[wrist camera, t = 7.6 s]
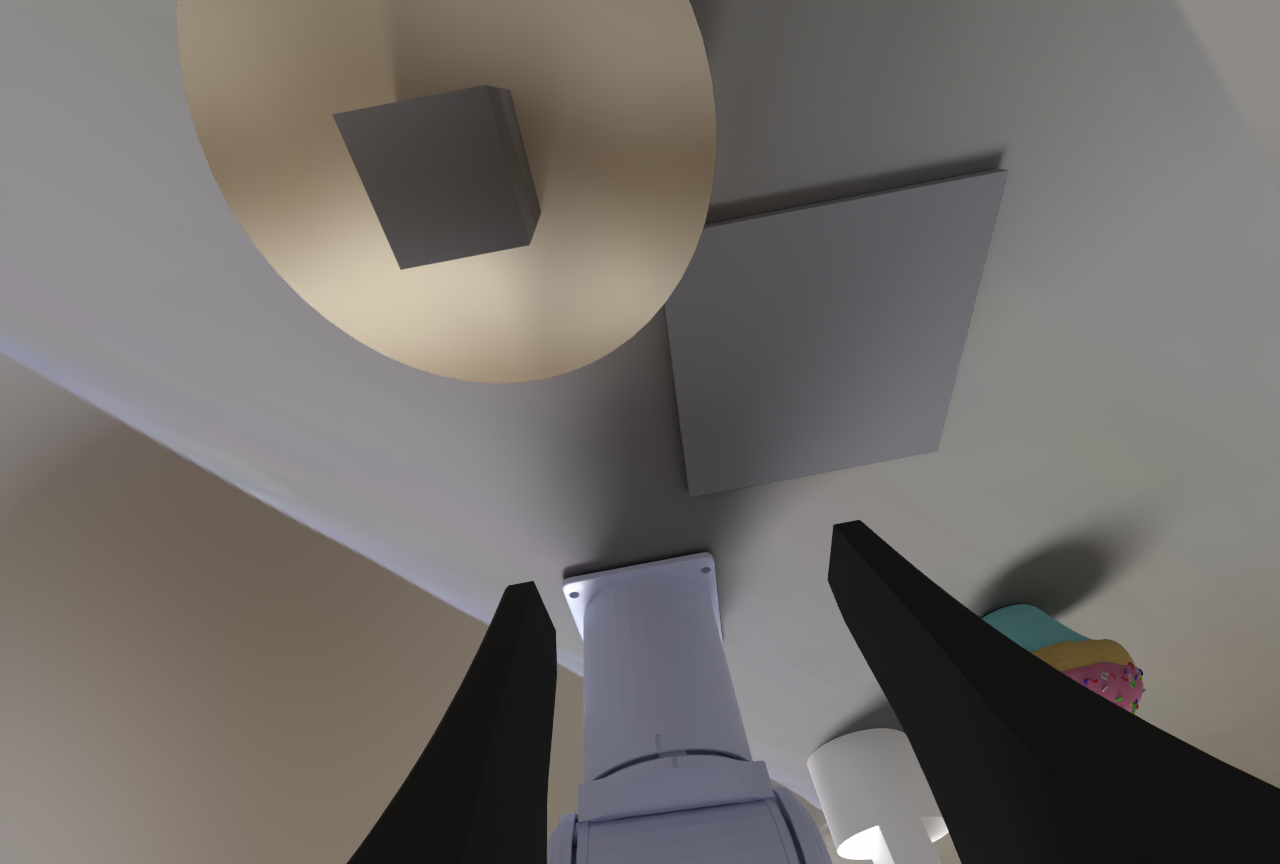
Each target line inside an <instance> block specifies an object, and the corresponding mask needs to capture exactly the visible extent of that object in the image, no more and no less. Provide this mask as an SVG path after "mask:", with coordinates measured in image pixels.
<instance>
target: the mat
mask: <svg viewBox="0 0 1280 864" xmlns="http://www.w3.org/2000/svg"><path fill="white" fill-rule="evenodd" d="M1007 173H1008V170H1002V169H993V170H988V171H982V172H977V173H972V174H967V175H962V176H956V177H951V178H946V179H941V180H935V181H930V182H925V183H920V184H914V185H909V186H904V187H899V188H893V189H888V190H883V191H878V192H872V193H867V194H862V195H857V196H851V197H846V198H841V199H836V200H830V201H825V202H820V203H815V204H810V205H804V206H799V207H794V208H789V209H783V210H778V211H773V212H768V213H762V214H757V215H752V216H747V217H741V218H736V219H731V220H726V221H720V222H715V223H710V224H705V225H704V227H703V230H702V233H701V236H700V238H699V241H698V244H697V247H696V250H695V252H694V254H693V256H692V258H691V260H690V262H689V264H688V266H687V268H686V270H685V272H684V274H683V276H682V278H681V280H680V281H679V283H678V284H677V286H676V287H675V289H674V290H673V292H672V294H671V295H670V297H669V298H668V300H667V301H666V302H665V303H664V312H665V319H666V327H667V335H668V342H669V350H670V357H671V365H672V372H673V380H674V387H675V395H676V402H677V410H678V417H679V425H680V432H681V440H682V448H683V455H684V463H685V470H686V478H687V485H688V492H689V495H690V498H691V497H697V496H702V495H707V494H713V493H718V492H723V491H729V490H734V489H739V488H745V487H750V486H755V485H761V484H766V483H771V482H777V481H782V480H787V479H792V478H798V477H803V476H808V475H814V474H819V473H824V472H830V471H835V470H840V469H846V468H851V467H856V466H862V465H867V464H872V463H878V462H883V461H888V460H893V459H899V458H904V457H909V456H915V455H920V454H925V453H931V452H936V451H937V450H938V446H939V442H940V438H941V434H942V430H943V426H944V422H945V419H946V415H947V411H948V407H949V403H950V399H951V395H952V391H953V387H954V383H955V379H956V375H957V371H958V367H959V363H960V359H961V355H962V351H963V347H964V343H965V339H966V335H967V331H968V327H969V323H970V319H971V315H972V311H973V307H974V303H975V299H976V296H977V292H978V288H979V284H980V280H981V276H982V272H983V268H984V264H985V260H986V256H987V252H988V248H989V244H990V240H991V236H992V232H993V228H994V224H995V220H996V216H997V212H998V208H999V204H1000V200H1001V196H1002V192H1003V188H1004V184H1005V180H1006V177H1007Z"/></svg>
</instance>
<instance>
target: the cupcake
mask: <svg viewBox="0 0 1280 864" xmlns="http://www.w3.org/2000/svg"><path fill="white" fill-rule="evenodd" d="M982 619H983V620H984V621H986V622H987V623H988V624H990V625H991V626H993V627H994V628H995V629H997V630H998V631H1000V632H1001V633H1002V634H1004V635H1005V636H1007V637H1008V638H1010V639H1011V640H1013V641H1014V642H1016V643H1017V644H1019V645H1020V646H1021V647H1023V648H1025V649H1026V650H1028V651H1029V652H1031V653H1032V654H1034V655H1035V656H1037V657H1038V658H1040V659H1041V660H1043V661H1045V662H1046V663H1048V664H1049V665H1051V666H1052V667H1054V668H1056V669H1057V670H1059V671H1060V672H1062V673H1064V674H1065V675H1067V676H1069V677H1070V678H1072V679H1073V680H1075V681H1077V682H1078V683H1080V684H1082V685H1083V686H1085V687H1087V688H1088V689H1090V690H1092V691H1094V692H1095V693H1097V694H1099V695H1101V696H1102V697H1104V698H1106V699H1108V700H1109V701H1111V702H1113V703H1115V704H1117V705H1118V706H1120V707H1122V708H1124V709H1125V710H1127V711H1129V712H1131V713H1132V714H1135V712H1136V709H1138V702H1139V701H1140V699H1141V696H1142V694H1143V693H1144V692H1145V691H1146V689H1143V683H1142V675H1143V672H1142V670H1141V669H1138V668H1137V667H1136V666H1135V665H1134V662H1133V660H1132V658H1131V657H1130V655H1129V653H1128V652H1127V651H1126V650H1125V649H1124V648H1123V647H1122V646H1121V645H1120V644H1119V643H1117V642H1115V641H1112V640H1108V639H1103V640H1092V639H1089V638H1087V637H1085V636H1082V635H1080V634H1078V633H1076V632H1074V631H1073V630H1071V629H1069V628H1067V627H1066V626H1064V625H1062V624H1061V623H1059V622H1058V621H1056V620H1055V619H1053V618H1052V617H1050V616H1049V615H1047V614H1046V613H1044V612H1043V611H1041V610H1040V609H1039V608H1037V607H1035V606H1033V605H1028V604H1017V605H1011V606H1007V607H1004V608H1001V609H998V610H996V611H993V612H991V613H990V614H988V615H986V616H985V617H983V618H982ZM1140 672H1141V673H1140Z"/></svg>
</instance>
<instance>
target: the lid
mask: <svg viewBox="0 0 1280 864" xmlns="http://www.w3.org/2000/svg"><path fill="white" fill-rule="evenodd" d="M177 24H178V51H179V57H180V63H181V69H182V76H183V82H184V88H185V94H186V98H187V101H188V105H189V108H190V112H191V115H192V119H193V122H194V126H195V129H196V133H197V136H198V139H199V141H200V144H201V146H202V149H203V151H204V154H205V156H206V159H207V161H208V163H209V166H210V168H211V171H212V173H213V176H214V178H215V180H216V181H217V183H218V185H219V187H220V189H221V191H222V193H223V195H224V196H225V198H226V200H227V202H228V204H229V206H230V208H231V210H232V211H233V213H234V215H235V216H236V218H237V219H238V221H239V222H240V224H241V225H242V227H243V228H244V230H245V231H246V233H247V234H248V236H249V237H250V239H251V240H252V242H253V243H254V245H255V246H256V247H257V248H258V250H259V251H260V252H261V253H262V254H263V256H264V257H265V258H266V259H267V261H268V262H269V263H270V264H271V265H272V267H273V268H274V269H275V270H276V272H277V273H278V274H279V275H280V276H281V277H282V278H283V279H284V280H285V281H286V282H287V283H288V284H289V285H290V286H291V287H292V288H293V289H294V290H295V291H296V292H297V293H298V294H299V295H300V296H301V297H302V298H303V299H304V300H305V301H306V302H307V303H308V304H310V305H311V306H312V307H313V308H314V309H316V310H317V311H318V312H319V313H320V314H322V315H323V316H324V317H325V318H326V319H327V320H329V321H330V322H331V323H333V324H334V325H336V326H337V327H339V328H340V329H342V330H343V331H344V332H346V333H347V334H349V335H350V336H352V337H353V338H355V339H356V340H358V341H360V342H361V343H363V344H365V345H367V346H369V347H370V348H372V349H374V350H376V351H378V352H379V353H381V354H383V355H385V356H387V357H390V358H392V359H394V360H397V361H399V362H401V363H403V364H406V365H408V366H410V367H413V368H417V369H420V370H423V371H426V372H429V373H432V374H435V375H439V376H444V377H449V378H453V379H458V380H463V381H472V382H482V383H520V382H528V381H535V380H542V379H546V378H550V377H554V376H558V375H562V374H566V373H568V372H571V371H573V370H576V369H579V368H581V367H584V366H586V365H589V364H591V363H592V362H594V361H596V360H598V359H600V358H602V357H604V356H606V355H607V354H609V353H611V352H612V351H614V350H615V349H616V348H618V347H619V346H621V345H622V344H624V343H625V342H626V341H628V340H629V339H631V338H632V337H633V336H634V335H635V334H636V333H637V332H638V331H639V330H640V329H641V328H643V327H644V326H645V325H646V324H647V323H648V322H649V321H650V320H651V319H652V318H653V316H654V315H655V314H656V313H657V312H658V310H659V309H660V308H661V307H662V306H663V305H664V303H665V302H666V301H667V300H668V298H669V297H670V295H671V294H672V292H673V290H674V289H675V287H676V286H677V284H678V283H679V281H680V280H681V278H682V276H683V274H684V272H685V270H686V268H687V266H688V264H689V262H690V260H691V258H692V256H693V254H694V252H695V250H696V247H697V244H698V241H699V238H700V236H701V233H702V230H703V227H704V224H705V221H706V217H707V212H708V208H709V203H710V199H711V195H712V190H713V181H714V172H715V163H716V112H715V103H714V94H713V85H712V78H711V73H710V69H709V64H708V60H707V56H706V51H705V47H704V42H703V38H702V35H701V32H700V29H699V26H698V24H697V21H696V18H695V15H694V12H693V9H692V6H691V3H690V0H177Z"/></svg>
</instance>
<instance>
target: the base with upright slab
mask: <svg viewBox="0 0 1280 864" xmlns="http://www.w3.org/2000/svg"><path fill="white" fill-rule="evenodd" d="M807 766H808V768H809V771H810V774H811V777H812V780H813V783H814V786H815V789H816V792H817V795H818V797H819V800H820V803H821V806H822V809H823V812H824V815H825V818H826V821H827V824H828V827H829V829H830V832H831V835H832V838H833V841H834V844H835V847H836V850H837V852H838V855H840V856H841V857H843V858H847V859H857V860H865V859H872V860H873V863H874V864H942V862H941V860H940V858H939V856H938V854H937V852H936V850H935V848H934V846H933V844H932V842H934V841H936V840H938V839H940V838H941V837H943V836H944V835H945V834H947V833H948V832H949V831H948V829H947V827H946V824H945V822H944V819H943V817H942V815H941V812H940V810H939V808H938V805H937V803H936V801H935V798H934V796H933V794H932V791H931V789H930V787H929V784H928V782H927V780H926V778H925V775H924V773H923V771H922V769H921V766H920V764H919V762H918V760H917V757H916V755H915V753H914V751H913V748H912V746H911V744H910V742H909V739H908V737H907V735H906V734H905V733H903V732H901V731H899V730H895V729H888V728H877V729H868V730H861V731H857V732H853V733H850V734H846V735H843V736H841V737H838V738H836V739H833V740H831V741H829V742H827V743H826V744H824V745H822V746H820V747H819V748H818V749H817V750H815V751H814V752H813V753H812V754H811V756H810V757H809V758H808V762H807Z"/></svg>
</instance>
